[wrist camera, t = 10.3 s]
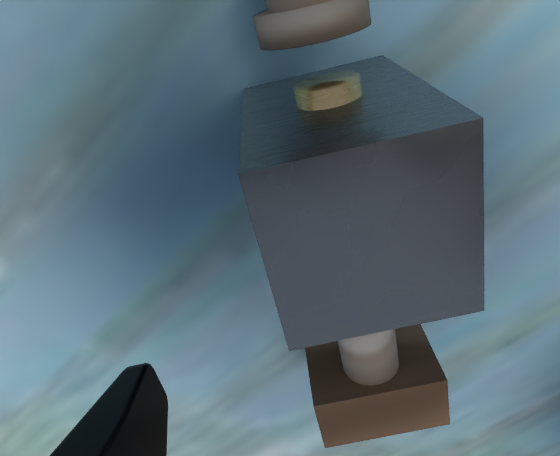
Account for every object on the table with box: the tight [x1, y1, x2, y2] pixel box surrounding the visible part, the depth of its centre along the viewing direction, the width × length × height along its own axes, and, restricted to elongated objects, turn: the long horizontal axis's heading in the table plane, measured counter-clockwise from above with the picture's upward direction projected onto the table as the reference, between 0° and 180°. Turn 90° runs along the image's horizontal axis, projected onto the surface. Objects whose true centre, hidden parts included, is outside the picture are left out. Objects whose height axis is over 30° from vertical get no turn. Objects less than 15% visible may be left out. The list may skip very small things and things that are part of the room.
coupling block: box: [238, 56, 484, 351], centre depth 14 cm, size 6×5×8 cm
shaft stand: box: [253, 0, 450, 448], centre depth 15 cm, size 22×5×5 cm, turn 13°
